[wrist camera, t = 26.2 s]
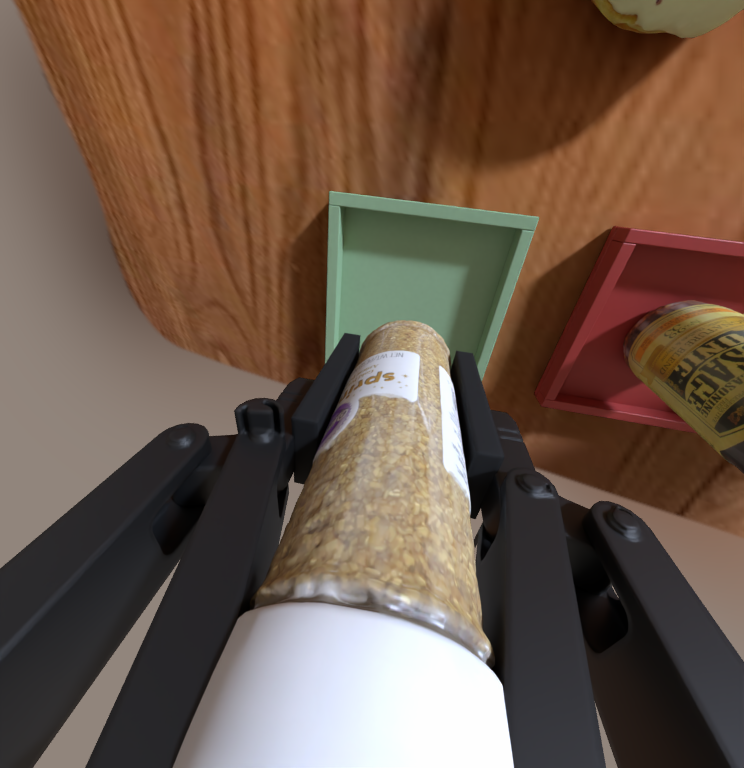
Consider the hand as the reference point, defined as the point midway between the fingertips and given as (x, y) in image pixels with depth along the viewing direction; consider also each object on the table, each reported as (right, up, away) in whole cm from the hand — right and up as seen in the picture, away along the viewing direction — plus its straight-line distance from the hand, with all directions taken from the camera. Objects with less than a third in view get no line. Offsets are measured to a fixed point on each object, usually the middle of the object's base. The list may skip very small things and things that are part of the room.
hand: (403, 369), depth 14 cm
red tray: (+21, +3, +9) cm, 23 cm away
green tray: (+2, +6, +10) cm, 12 cm away
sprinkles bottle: (0, 0, +1) cm, 1 cm away
